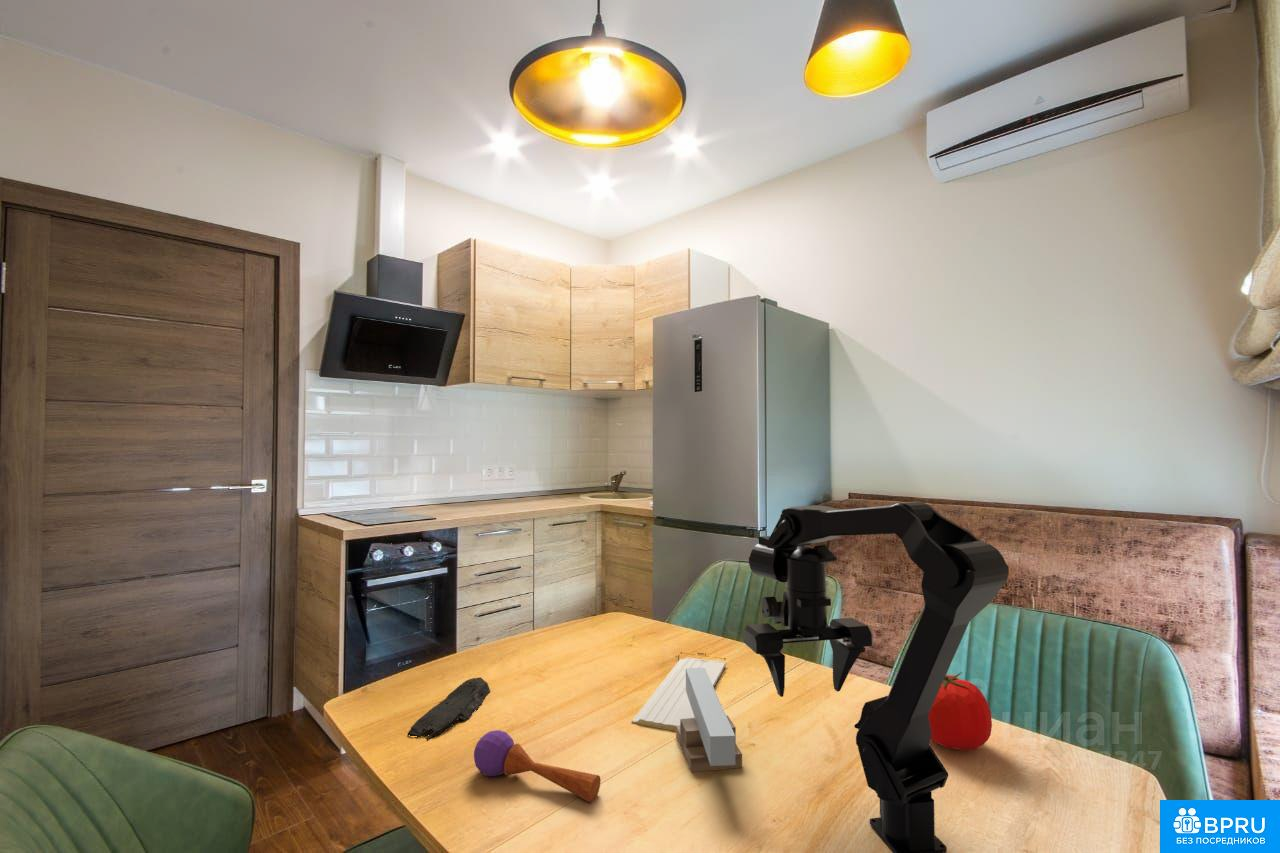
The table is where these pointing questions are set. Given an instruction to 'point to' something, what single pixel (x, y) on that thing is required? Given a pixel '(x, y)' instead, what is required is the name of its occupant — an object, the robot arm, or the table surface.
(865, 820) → the table surface
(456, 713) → the wood
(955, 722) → the tomato
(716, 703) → the slate stick
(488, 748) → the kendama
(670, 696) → the baseboard molding
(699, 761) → the ridge block
